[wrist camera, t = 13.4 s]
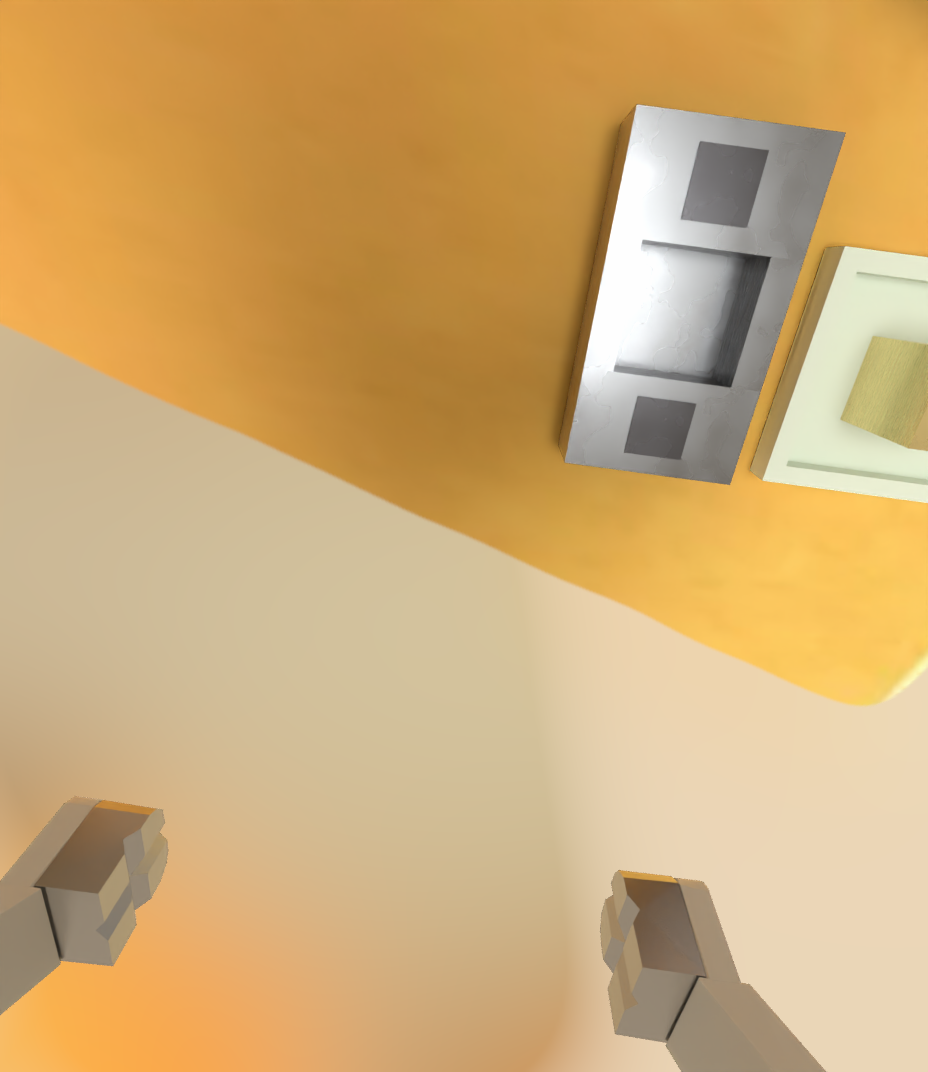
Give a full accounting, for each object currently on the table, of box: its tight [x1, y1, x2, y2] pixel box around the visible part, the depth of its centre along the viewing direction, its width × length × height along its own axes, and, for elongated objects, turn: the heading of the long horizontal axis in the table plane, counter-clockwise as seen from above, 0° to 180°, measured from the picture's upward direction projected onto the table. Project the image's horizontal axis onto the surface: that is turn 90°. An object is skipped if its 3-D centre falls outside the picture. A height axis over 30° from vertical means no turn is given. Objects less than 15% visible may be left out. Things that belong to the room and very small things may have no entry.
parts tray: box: [750, 246, 928, 503], centre depth 32 cm, size 12×12×2 cm
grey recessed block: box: [558, 104, 846, 485], centre depth 30 cm, size 16×9×4 cm, turn 173°
